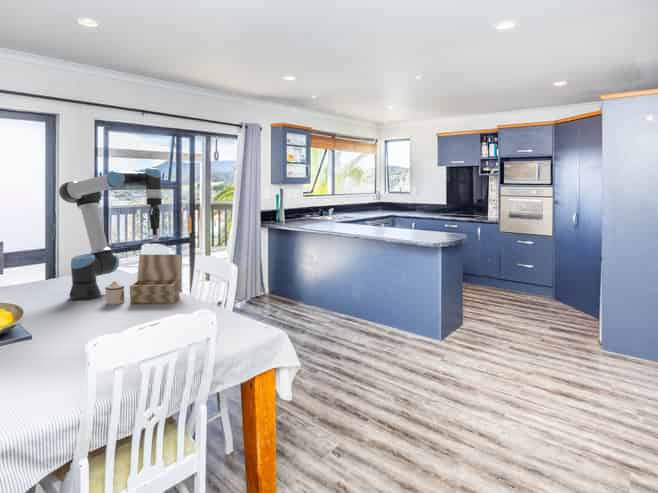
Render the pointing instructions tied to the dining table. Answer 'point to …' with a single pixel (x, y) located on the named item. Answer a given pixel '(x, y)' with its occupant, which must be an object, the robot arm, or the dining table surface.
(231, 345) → the dining table surface
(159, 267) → the lid flap
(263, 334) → the dining table surface
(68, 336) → the dining table surface
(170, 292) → the wicker basket box
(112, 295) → the teacup with lid
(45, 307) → the dining table surface
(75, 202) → the robot arm
